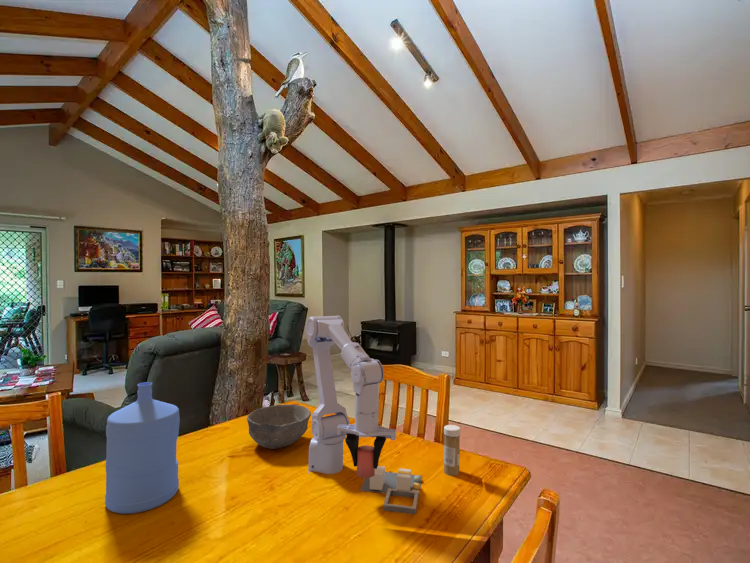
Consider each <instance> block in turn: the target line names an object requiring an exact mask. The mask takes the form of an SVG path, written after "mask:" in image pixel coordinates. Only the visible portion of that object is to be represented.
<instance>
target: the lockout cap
mask: <svg viewBox="0 0 750 563" xmlns="http://www.w3.org/2000/svg"><path fill="white" fill-rule="evenodd" d="M374 475H375V469H374V446H371V445H360V446H358V448H357V467H356V476H357V477H359V478H361V479H365V478H370V477H373V476H374Z"/></svg>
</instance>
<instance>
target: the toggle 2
mask: <svg viewBox="0 0 750 563" xmlns="http://www.w3.org/2000/svg"><path fill="white" fill-rule="evenodd" d="M397 473H398V475H397V489H399V490H408V491H410V488H411V475H412V469H411V468H410V469H408V468H399V467H398V470H397Z"/></svg>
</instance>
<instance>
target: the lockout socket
mask: <svg viewBox="0 0 750 563" xmlns="http://www.w3.org/2000/svg"><path fill="white" fill-rule="evenodd" d="M391 496H395V497H404V498H409V499H410V498H411V499H413V502H412V506H409V505H403V504H402V505H401V504H393V503H390V499H391ZM418 501H419V497H418V492H417V491H408V490H399V489H391V488H388V491H387V494H385V497H384V501H383V505H382V511H386V512H394V513H399V514H400V513H402V514H408V515H409V514H410V515H416V514H417V508H418Z"/></svg>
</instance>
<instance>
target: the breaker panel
mask: <svg viewBox="0 0 750 563" xmlns="http://www.w3.org/2000/svg"><path fill="white" fill-rule="evenodd" d="M397 475H398V472H391V471H385V483H384V486H383V489H382V490H373V489H370V478H364V480H363V483H362V485H361V487H360V490H359V491H360V492H361V491H362V492H370V493H379V494H385V495H386V494H387V491H388V488H391V489H397ZM422 479H423V475H419V474H411V488H410V491H417V492H418V498H420V491H421V487H422V481H423V480H422Z"/></svg>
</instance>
